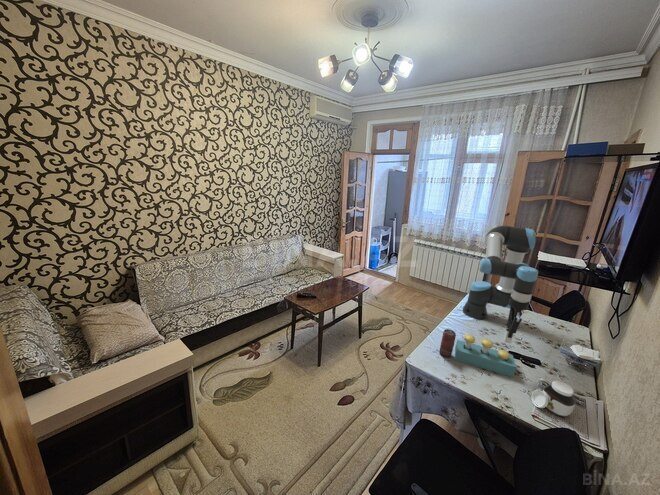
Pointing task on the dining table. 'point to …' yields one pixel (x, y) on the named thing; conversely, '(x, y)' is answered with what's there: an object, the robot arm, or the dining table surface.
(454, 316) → the dining table surface
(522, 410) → the dining table surface
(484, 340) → the plunger mid
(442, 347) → the can
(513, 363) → the mount
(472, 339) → the plunger
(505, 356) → the plunger
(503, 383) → the dining table surface
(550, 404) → the spread jar
